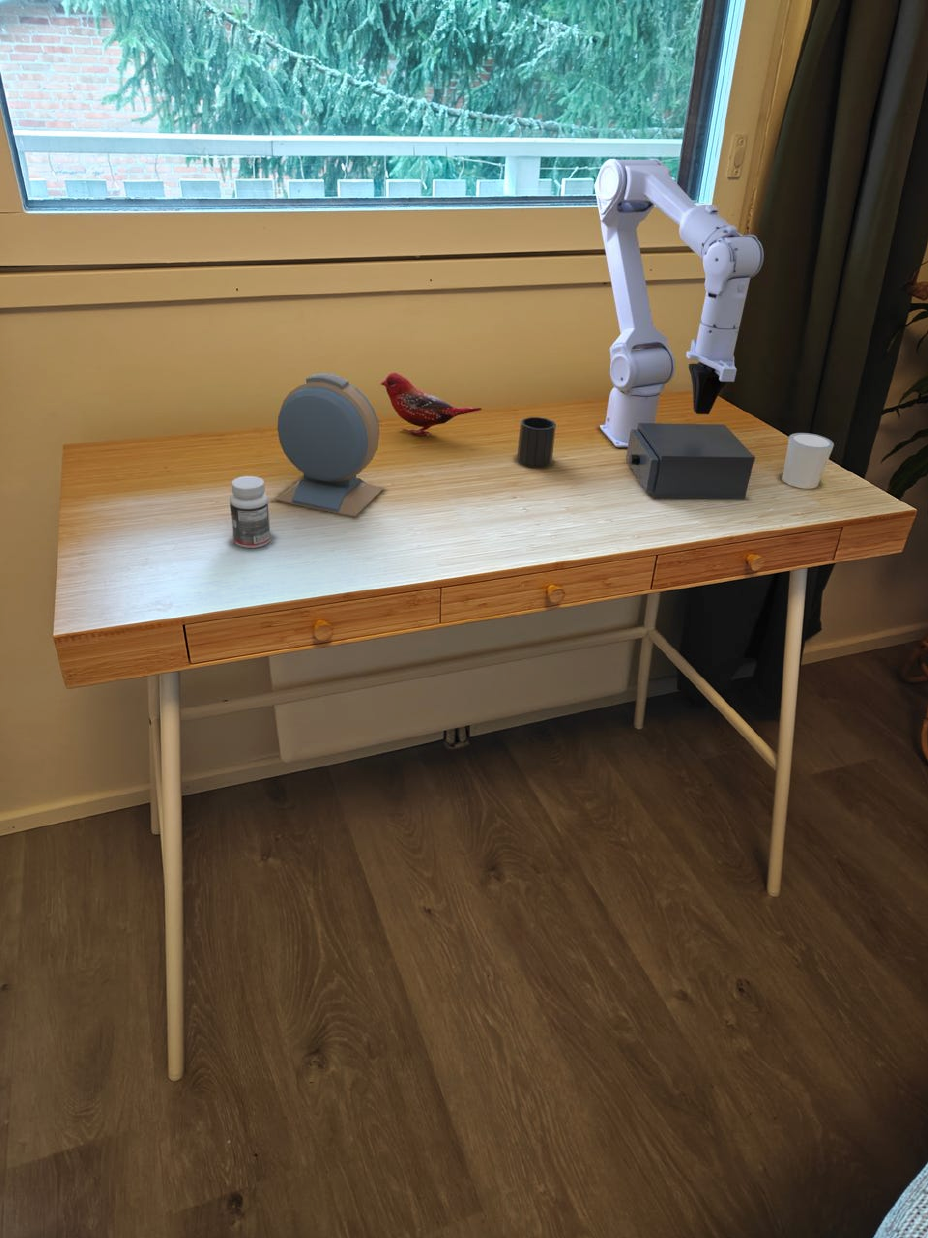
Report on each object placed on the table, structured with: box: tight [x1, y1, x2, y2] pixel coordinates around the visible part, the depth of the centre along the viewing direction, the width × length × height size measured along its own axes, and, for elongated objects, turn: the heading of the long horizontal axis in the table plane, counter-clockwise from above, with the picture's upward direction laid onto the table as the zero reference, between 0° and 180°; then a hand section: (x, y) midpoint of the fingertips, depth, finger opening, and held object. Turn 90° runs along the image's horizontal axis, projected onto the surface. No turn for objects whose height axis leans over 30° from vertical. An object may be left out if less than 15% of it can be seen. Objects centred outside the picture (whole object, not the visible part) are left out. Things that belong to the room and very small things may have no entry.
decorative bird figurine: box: [380, 372, 483, 436], centre depth 148 cm, size 3×18×10 cm, turn 74°
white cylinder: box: [781, 432, 835, 490], centre depth 142 cm, size 7×7×7 cm
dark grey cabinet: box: [637, 422, 756, 500], centre depth 140 cm, size 14×13×7 cm
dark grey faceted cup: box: [517, 416, 557, 469], centre depth 143 cm, size 5×5×6 cm
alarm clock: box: [275, 372, 384, 518], centre depth 125 cm, size 14×10×18 cm
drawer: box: [625, 429, 660, 493], centre depth 139 cm, size 15×12×5 cm
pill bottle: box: [229, 475, 271, 549], centre depth 115 cm, size 5×5×8 cm
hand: (701, 412), depth 139 cm, fingers closed
